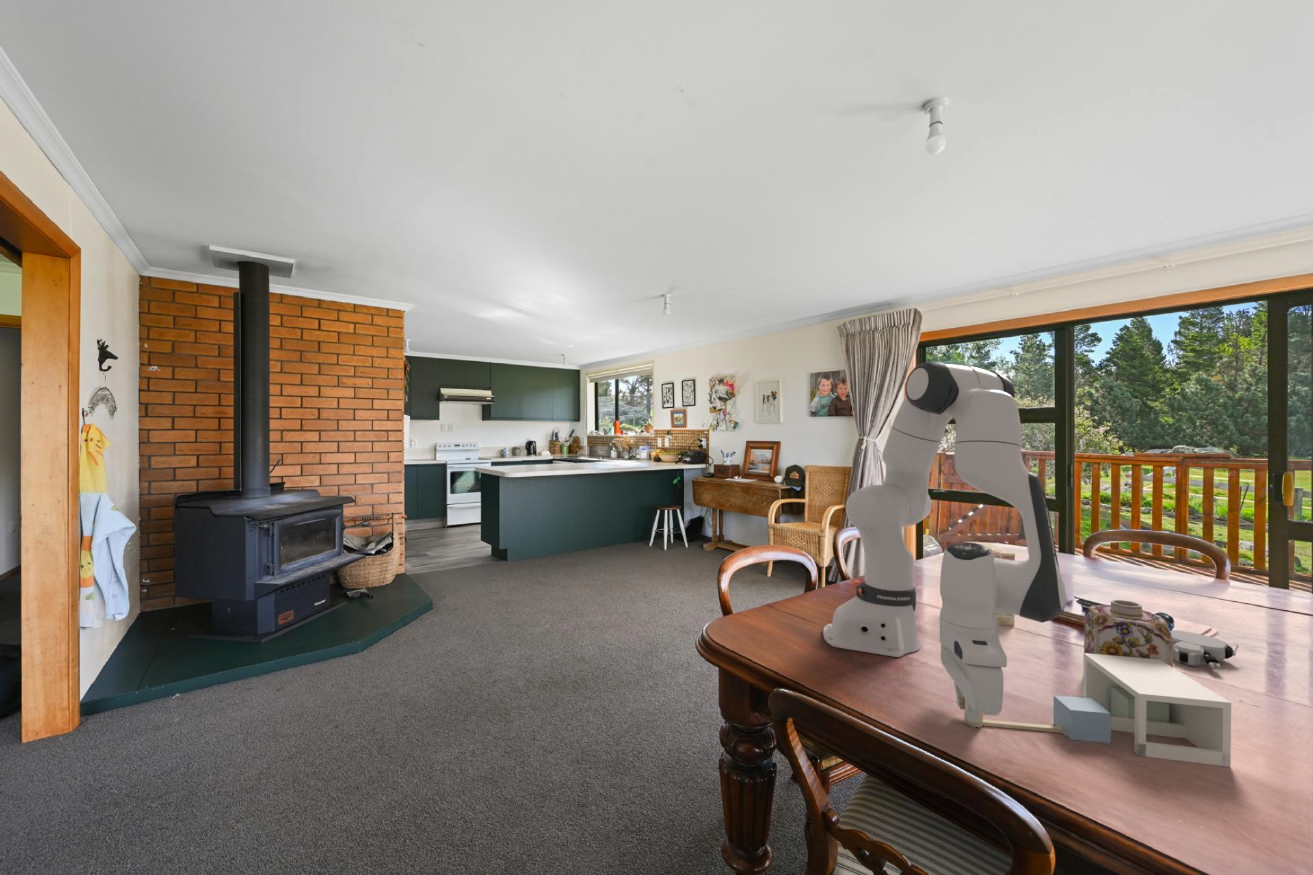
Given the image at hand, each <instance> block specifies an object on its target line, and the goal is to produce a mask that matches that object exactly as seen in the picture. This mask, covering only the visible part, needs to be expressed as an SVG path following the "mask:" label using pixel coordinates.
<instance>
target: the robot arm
mask: <svg viewBox="0 0 1313 875" xmlns="http://www.w3.org/2000/svg"><path fill="white" fill-rule="evenodd" d="M904 388H905V389H904V390H905V398H904V399H903V401H902V402H901V404H900V407H899V409H898V411H897V413H896V415H895V417H894V419H893V422H892V424H891V428H890V429H889V430H890V431H889V433H888V436H887V439H886V442H885V446H884V447H883V451H882V452H881V453H882V454H881V457H882V460H883V463H884V464H885V478H884V481H883V483H882V484H873V485H867V486H864V487H862V488H859V489H857V490H855V491H853V492H851V494H850V495H849V496H848V497H847V500H846V503H845V512H846V516H847V518H848V519H847V520H849V522H850V523H851V524H852V525H853V526H854V527H855V529H856V530H857V532H858V535H859V536H860V540H861V543H862V546H863V547H862V548H863V555H864V581H862V582H861V581H860V580H858V579H854V580H853V581H852V587H853V589H855V591H856V592H855V596H854V597H852V598H851V599H849V600H848V601H846V602H845V603H843V604H841V605H839V606H838V607H837V608H836V609H835V611H834V613H833V617H832V621H831V622H832V623H827V624H826V625H825V626H824V627H823V629H822V630H823V631H822V636H823V639H824V641H825V642H826V643H827V644H829V645H830V646H832V647H833V648H838V649H843V650H851V651H857V652H863V653H870V654H876V655H881V656H888V657H895V658H900V657H903V656H904V655H906V654H910V653H914V652H917V651H919V650H920V649H921V648H922V644H921V642H920V638H919V634H918V630H917V629H918V628H917V624H916V615H915V611H916V607H917V592H916V587H915V586H914V583H915V582H914V580H915V578H914V576H915V575H914V569H915V568H914V567H915V566H914V565H915V564H914V563H915V560H914V558H915V557H914V554H913V553H912V551H911V550H910V549H909V548H908V547H907V545H906V543H905V539H904V535H903V528H906V527H912V526H914V525H916V524H919V523H920V522H921V521H923V520H925V519H926V518H927V517H928V516H929V515H930V513H931V511H932V500H931V497H930V494H929V480H930V475H931V469H932V467H933V464H934V461H935V460H936V456H937V453H938V451H939V448H940V446H941V443H942V440H943V438H944V437H943V436H944V434H945V431H946V429H947V426H948V424H949V423H950V421H952V420H953V419H954V421H955V429H956V430H955V436H954V438H955V439H954V450H953V451H954V452H953V454H954V456H953V457H954V467H955V470H956V473H957V474H958V476H959V477H960V479H962V480H963V481H964V482H965V483H967V485H969V486H971V487H972V488H975V489H976V490H979V491H980V492H983V493H985V494H987V495H991V497H992V496H993V497H995V498H997V499H999V500H1002V501H1005V502H1006V503H1008V504H1010V505H1011V506H1013V507H1014V508H1015V509H1016V510H1017V511H1018V513H1019V514H1020V516H1021V519H1022V523H1023V530H1024V535H1025V541H1026V547H1027V554H1028V559H1027V560H1023V561H1022V560H1021V561H1020V560H1015V561H1014V560H1007V559H1000V558H994V555H993V552H992V550H991V549H990V548H988V547H986V546H984V545H981V544H977V543H971V542H972V541H963V542H954V543H950V544H949V545H947V546H946V547H945V548H944V552H943V555H942V561H941V569H940V576H939V594H940V597H941V602H942V604H941V605H942V606H941V609H940V611H939V612H940V613H939V643H941V644H940V661H941V664H942V666H943V668H944V669H945V670H946V672H947V674H948V675H949V676H950V677H951V680H952V681H953V685H954V691H955V694H956V705H957V706H958V707H959V709H961V710H964V715H965V717H966V718H967V720H968V721H969V722H978V721H979V714H983V716H995V717H996V716H999V715H1000V714H1001V711H1002V710H1003V709H1002V708H1003V701H1004V700H1003V698H1004V683H1005V682H1004V672H1003V669H1002V668H1007V666H1008V665H1007V663H1008V658H1007V655H1006V652H1005V651H1004V648H1003V647H1002V644H1001V642H1000V638H999V634H998V625H997V619H996V616H995V611H1000V612H1004V613H1009V614H1014V616H1019V617H1021V618H1024V619H1026V620H1032V621H1036V622H1038V623H1046V622H1049V621H1052V620H1055V619H1056V618H1058V617H1059V616H1061V615H1063V614H1064V613H1065V609H1066V605H1067V601H1068V596H1067V595H1068V593H1067V588H1066V585H1065V581H1064V579H1063V575H1062V572H1061V571H1060V566H1059V565H1060V564H1059V561H1058V556H1057V550H1056V545H1055V544H1056V543H1055V538H1054V532H1053V527H1052V522H1051V517H1050V510H1049V506H1048V501H1047V497H1046V492H1045V489H1044V486H1043V484H1042V481H1041V480H1040V477H1039V476H1038V474H1037V475H1036V474H1034V473H1032V472H1030V471H1029V470H1028V468H1027V466H1026V464H1025V462H1024V459H1023V456H1022V427H1021V418H1020V413H1019V412H1020V411H1019V407H1018V403H1017V401H1016V399H1015V394H1016V392H1015V386H1014V384H1013V382H1012V381H1011V380H1010V379H1009V378H1008V377H1006V376H1004V375H1002V373H999V372H996V371H992V370H991V371H988V370H986V369H982V368H979V367H975V366H971V365H967V364H966V365H965V364H964V365H961V364H954V363H945V362H941V361H925V362H921V363H919V364H917V365H916V366H915V367H914V368H913V369H912V371H911V372H910V373H909V375H908V376H907V378H906V382H905V387H904ZM965 698H966V701H967V705H966V707H965Z"/></svg>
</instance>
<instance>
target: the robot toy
mask: <svg viewBox="0 0 1313 875" xmlns="http://www.w3.org/2000/svg"><path fill="white" fill-rule="evenodd" d="M1169 632H1170V633H1171V637H1172V640H1173V660H1174V661H1175V662H1178V663H1181V664H1185V665H1189V666H1194V667H1199V666H1201V665H1203V664H1206V666H1207V667H1209V668H1211V669H1221V665H1220V663H1219V661H1225V659H1226V660H1228V659H1230V658H1232V657H1233V656H1234V657H1235V656H1236V653H1237V650H1238V648H1239V647H1240V646H1239V644H1236V647H1235V649H1233V647H1232V646H1230V645H1229V644H1228V642H1226V641H1224V640H1222V639H1219V638H1216V637H1212V636H1210V635H1206V634H1205V635H1204V634H1201V633H1196V632H1190V631H1184V630H1175V629H1174V630H1173V629H1172V630H1170V631H1169Z"/></svg>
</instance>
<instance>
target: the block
mask: <svg viewBox="0 0 1313 875" xmlns="http://www.w3.org/2000/svg"><path fill="white" fill-rule="evenodd" d="M1110 713H1111V716H1112V717H1121V718H1130V719H1135V696H1133V695H1132V694H1131V693H1129V692H1128V691H1127V690H1125V689H1124V688H1119V687H1111V711H1110ZM1146 720H1148V721H1157V722H1166V723H1169V704H1168V703H1166V702H1156V701H1146Z"/></svg>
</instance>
